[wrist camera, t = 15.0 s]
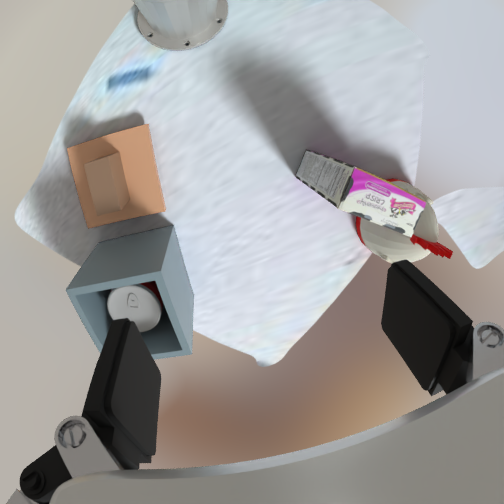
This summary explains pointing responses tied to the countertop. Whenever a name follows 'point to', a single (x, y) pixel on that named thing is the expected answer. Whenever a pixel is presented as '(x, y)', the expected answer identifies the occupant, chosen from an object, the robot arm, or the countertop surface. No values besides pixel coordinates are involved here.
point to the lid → (117, 177)
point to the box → (134, 272)
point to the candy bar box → (361, 193)
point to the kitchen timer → (400, 245)
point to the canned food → (137, 304)
